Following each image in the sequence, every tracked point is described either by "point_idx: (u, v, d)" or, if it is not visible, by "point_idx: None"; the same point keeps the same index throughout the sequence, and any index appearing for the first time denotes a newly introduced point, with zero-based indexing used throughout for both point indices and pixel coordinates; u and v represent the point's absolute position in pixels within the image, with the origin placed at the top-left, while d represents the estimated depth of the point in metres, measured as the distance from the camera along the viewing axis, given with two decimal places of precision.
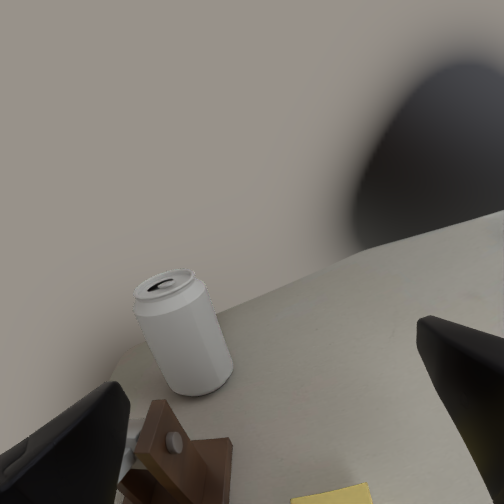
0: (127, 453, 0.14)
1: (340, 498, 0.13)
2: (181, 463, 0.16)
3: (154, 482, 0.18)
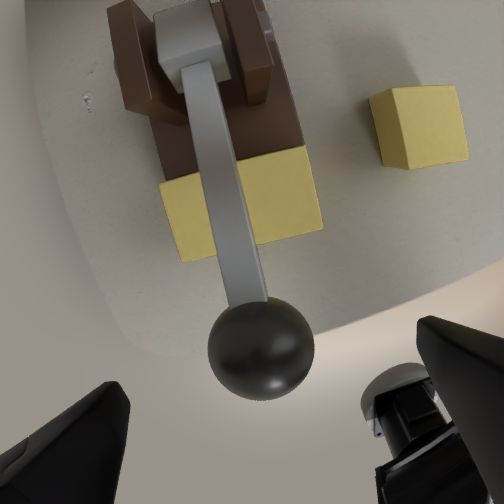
0: (213, 72, 0.09)
1: (436, 97, 0.13)
2: None
3: None
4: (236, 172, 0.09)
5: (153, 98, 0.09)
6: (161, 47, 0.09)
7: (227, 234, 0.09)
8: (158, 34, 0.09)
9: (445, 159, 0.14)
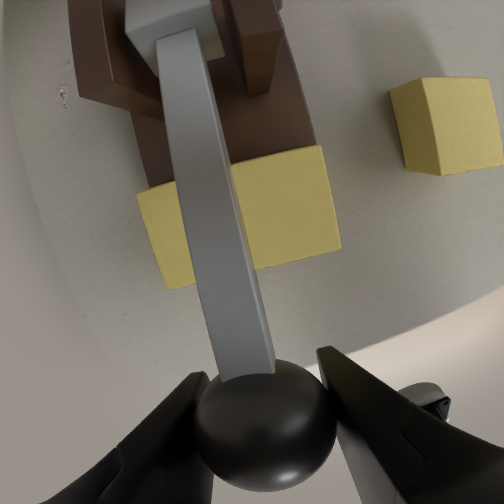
0: (199, 43, 0.06)
1: (469, 91, 0.10)
2: None
3: None
4: (229, 182, 0.06)
5: (116, 79, 0.06)
6: (130, 14, 0.06)
7: (215, 277, 0.06)
8: (128, 0, 0.06)
9: (480, 164, 0.11)
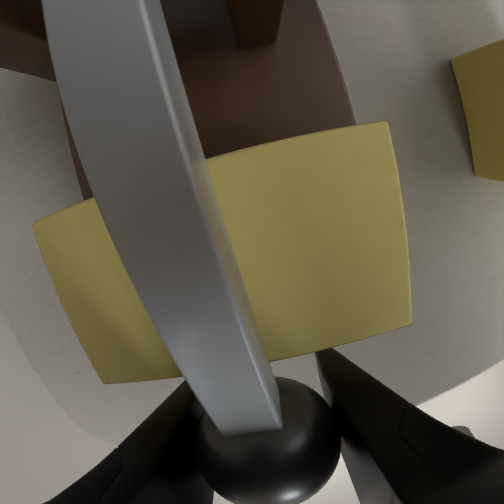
0: None
1: None
2: None
3: None
4: (210, 228, 0.03)
5: None
6: None
7: (204, 362, 0.04)
8: None
9: None
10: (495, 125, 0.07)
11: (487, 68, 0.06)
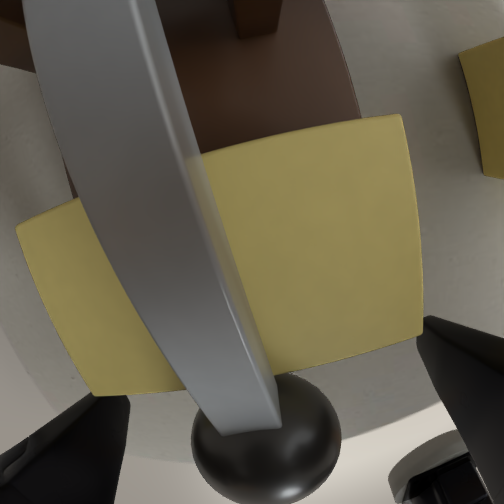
0: None
1: None
2: None
3: None
4: (204, 225, 0.03)
5: None
6: None
7: (199, 364, 0.04)
8: None
9: None
10: None
11: (497, 63, 0.06)
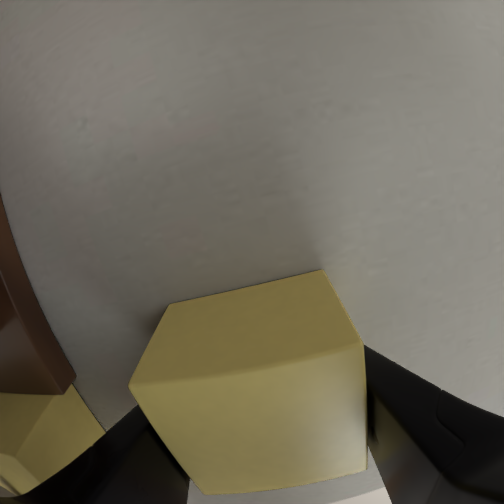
0: None
1: (277, 394, 0.05)
2: None
3: None
4: None
5: None
6: None
7: None
8: None
9: (296, 483, 0.06)
10: None
11: None
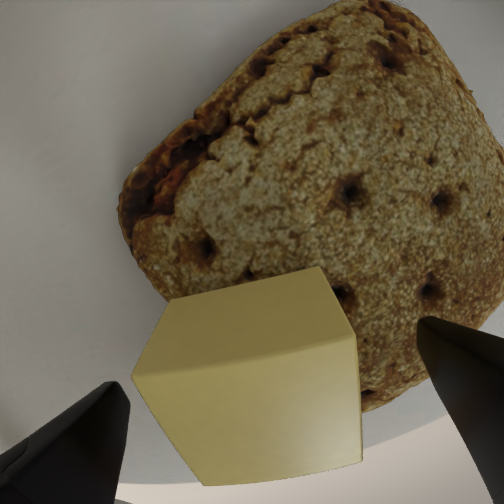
0: None
1: (273, 384, 0.06)
2: None
3: None
4: None
5: None
6: None
7: None
8: None
9: (293, 474, 0.07)
10: None
11: None
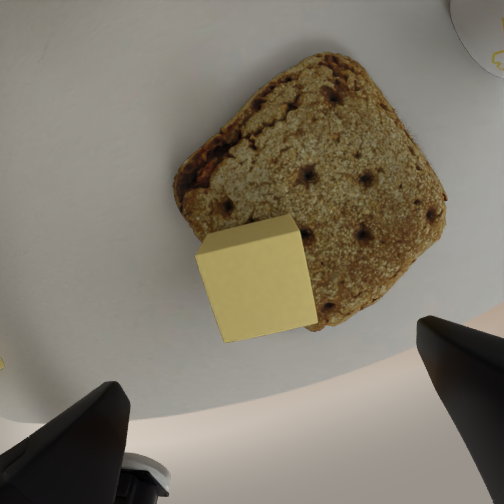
0: None
1: (263, 256, 0.13)
2: None
3: None
4: None
5: None
6: None
7: None
8: None
9: (277, 328, 0.14)
10: None
11: None
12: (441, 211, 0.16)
